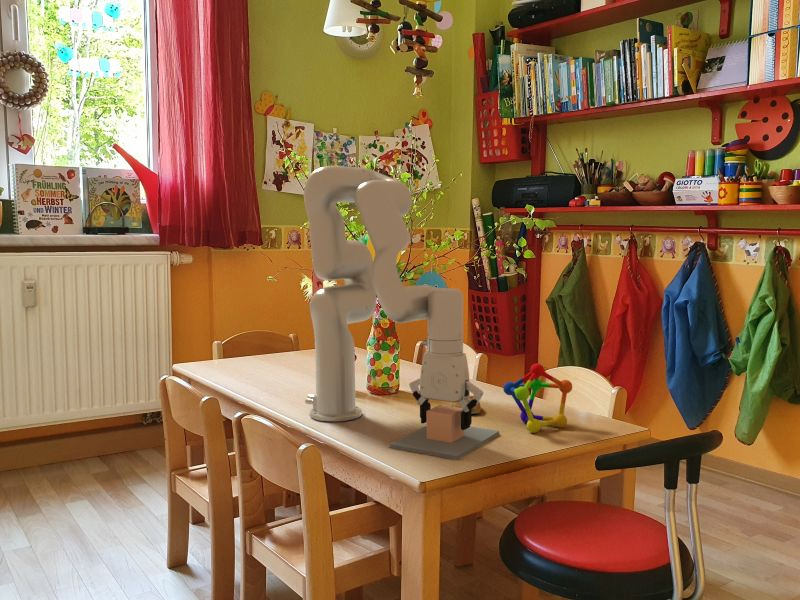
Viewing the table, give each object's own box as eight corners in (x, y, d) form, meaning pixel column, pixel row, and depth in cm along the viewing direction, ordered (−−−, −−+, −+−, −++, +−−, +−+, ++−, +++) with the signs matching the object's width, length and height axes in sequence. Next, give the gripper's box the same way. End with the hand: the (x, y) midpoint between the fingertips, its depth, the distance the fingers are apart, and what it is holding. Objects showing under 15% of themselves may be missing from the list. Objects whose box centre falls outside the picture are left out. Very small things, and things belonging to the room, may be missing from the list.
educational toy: (529, 419, 178) (534, 357, 177) (574, 430, 168) (579, 365, 167) (486, 425, 167) (491, 360, 167) (531, 437, 158) (536, 368, 157)
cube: (426, 438, 157) (426, 411, 156) (439, 431, 162) (439, 404, 161) (451, 442, 153) (451, 414, 153) (464, 435, 159) (464, 408, 158)
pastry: (487, 415, 179) (487, 400, 178) (461, 417, 177) (461, 402, 176) (473, 406, 188) (473, 391, 187) (448, 408, 186) (448, 393, 185)
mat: (389, 447, 153) (389, 443, 153) (435, 424, 170) (435, 421, 170) (457, 460, 145) (457, 456, 145) (499, 434, 162) (499, 430, 162)
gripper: (401, 345, 157) (401, 423, 159) (474, 353, 148) (474, 435, 150) (419, 340, 163) (419, 415, 165) (490, 347, 154) (489, 426, 156)
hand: (445, 425), depth 157 cm, fingers open, 9 cm apart
